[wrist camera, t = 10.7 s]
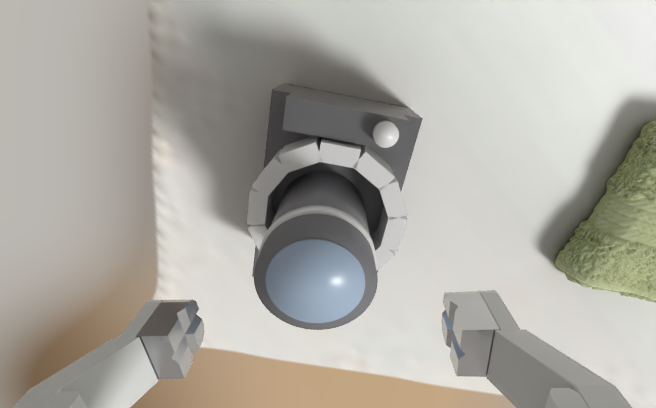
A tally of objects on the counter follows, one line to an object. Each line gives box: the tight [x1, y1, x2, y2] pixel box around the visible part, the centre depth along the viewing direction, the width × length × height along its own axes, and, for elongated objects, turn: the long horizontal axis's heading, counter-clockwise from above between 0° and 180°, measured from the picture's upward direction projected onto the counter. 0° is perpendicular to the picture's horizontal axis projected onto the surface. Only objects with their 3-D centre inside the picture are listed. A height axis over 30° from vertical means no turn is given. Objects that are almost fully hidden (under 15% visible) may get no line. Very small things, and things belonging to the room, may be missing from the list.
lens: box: [254, 171, 377, 330], centre depth 17 cm, size 5×5×7 cm
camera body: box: [247, 84, 422, 276], centre depth 21 cm, size 12×8×6 cm
